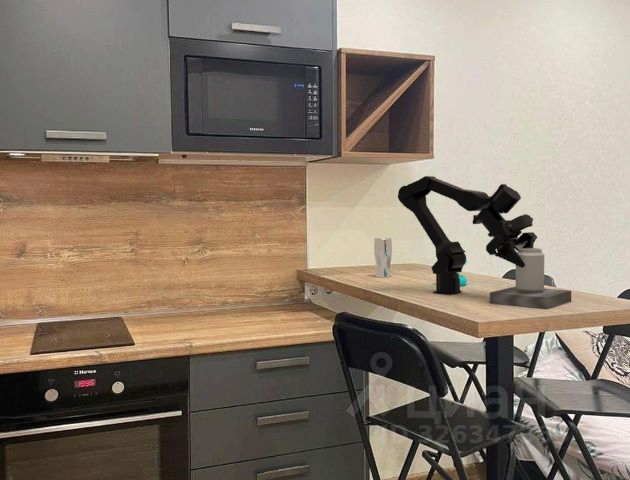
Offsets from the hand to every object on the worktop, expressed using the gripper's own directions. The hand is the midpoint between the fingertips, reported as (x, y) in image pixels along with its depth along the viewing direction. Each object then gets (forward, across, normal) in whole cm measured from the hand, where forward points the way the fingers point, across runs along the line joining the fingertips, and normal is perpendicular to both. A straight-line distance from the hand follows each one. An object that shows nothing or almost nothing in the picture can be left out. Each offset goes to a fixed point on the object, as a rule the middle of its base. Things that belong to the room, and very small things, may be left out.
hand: (531, 265), depth 164 cm
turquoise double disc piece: (-19, +16, +35) cm, 43 cm away
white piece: (-43, +19, +59) cm, 76 cm away
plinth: (+7, 0, +7) cm, 10 cm away
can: (+5, 0, +6) cm, 7 cm away
